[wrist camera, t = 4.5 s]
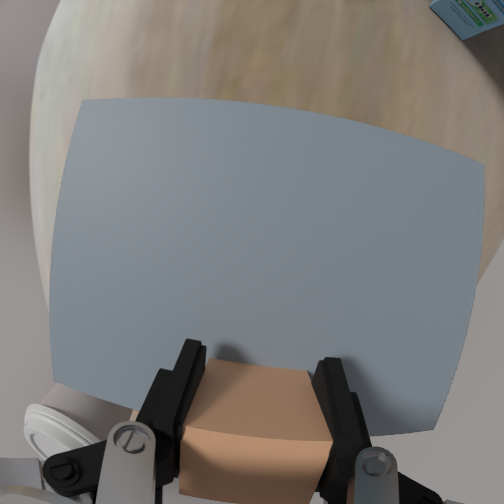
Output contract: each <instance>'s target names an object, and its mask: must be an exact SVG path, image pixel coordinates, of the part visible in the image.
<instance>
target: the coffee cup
mask: <svg viewBox="0 0 504 504" xmlns="http://www.w3.org/2000/svg"><path fill="white" fill-rule="evenodd" d="M132 411H133V409H131V408H128V407H124V406H121V405H118V404H115V403H112V402H109V401H106V400H103V399H100V398H97V397H94V396H91V395H88V394H86V393H83V392H80V391H78V390H75V389H73V388H70V387H68V386H65V385H63V384H60V383H57V384H56V385H55V387H54V388H53V389H52V390H51V391H50V392H49V393H48V394H47V395H46V396H45V397H44V398H43V399H42V400H41V401H40V402H39V403H38V404H32V405H29V406H28V408H27V410H26V413H25V419H24V420H25V427H24V435H25V438H26V440H27V441H28V443H29V444H30V445H31V446H32V448H33V449H34V450H35V451H36V452H37V453H38V454H39V455H40V456H41V457H42V458H44V459H45V460H46V459H48V458H49V457H50V456H52V455H54V454H58V453H62V452H66V451H69V450H73V449H77V448H81V447H84V446H88V445H91V444H94V443H98V442H101V441H104V440H107V439H108V435H109V433H110V431H111V429H112V428H113V427H114V426H115V425H117V424H119V423H121V422H125V421H129V420H130V417H131V414H132Z"/></svg>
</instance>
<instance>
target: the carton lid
mask: <svg viewBox="0 0 504 504" xmlns="http://www.w3.org/2000/svg"><path fill="white" fill-rule="evenodd" d="M483 223H484V164H482V163H480V162H477V161H475V160H473V159H470V158H468V157H465V156H463V155H461V154H458V153H455V152H453V151H450V150H448V149H445V148H442V147H439V146H437V145H434V144H431V143H428V142H425V141H422V140H419V139H416V138H413V137H410V136H407V135H404V134H400V133H397V132H394V131H390V130H387V129H383V128H380V127H376V126H372V125H368V124H364V123H360V122H356V121H352V120H348V119H344V118H339V117H335V116H330V115H325V114H320V113H315V112H310V111H304V110H298V109H292V108H286V107H279V106H272V105H265V104H257V103H248V102H239V101H228V100H216V99H199V98H172V97H140V98H113V99H98V100H86V101H82V104H81V107H80V110H79V114H78V117H77V120H76V124H75V127H74V131H73V134H72V138H71V142H70V146H69V150H68V154H67V158H66V163H65V167H64V172H63V177H62V182H61V187H60V193H59V198H58V205H57V211H56V218H55V226H54V234H53V244H52V255H51V270H50V300H49V314H50V342H51V357H52V369H53V378H54V381H56V382H58V383H60V384H63V385H65V386H68V387H70V388H73V389H75V390H78V391H80V392H83V393H86V394H88V395H91V396H94V397H97V398H100V399H103V400H106V401H109V402H112V403H115V404H118V405H121V406H124V407H128V408H131V409H135V410H138V411H140V409H141V407H142V405H143V403H144V400H145V398H146V396H147V394H148V392H149V390H150V387H151V385H152V383H153V381H154V379H155V377H156V374H157V372H158V370H159V369H160V368H163V369H167V370H172V371H173V369H174V366H175V364H176V361H177V359H178V356H179V354H180V352H181V349H182V347H183V344H184V342H185V340H186V338H188V339H194V340H199V341H201V342H202V345H205V346H206V347H207V348H206V364H205V372H204V374H203V377H202V379H201V382H200V384H199V386H198V389H197V391H196V394H195V396H194V399H193V401H192V404H191V406H190V409H189V411H188V414H187V416H186V419H185V421H184V424H183V429H182V440H181V445H180V475H179V476H180V477H179V494H183V495H188V496H192V497H198V498H203V499H209V500H215V501H222V502H230V503H238V504H309V503H310V500H311V498H312V496H313V494H314V492H315V489H316V487H317V485H318V482H319V480H320V477H321V475H322V473H323V470H324V468H325V465H326V462H327V460H328V457H329V455H328V454H329V451H330V449H331V446H332V443H333V439H332V437H331V434H330V431H329V429H328V426H327V424H326V421H325V418H324V416H323V413H322V411H321V408H320V405H319V403H318V400H317V397H316V395H315V392H314V390H313V387H312V384H311V382H312V379H313V376H314V373H315V370H316V367H317V364H318V362H319V360H324V358H325V357H336V358H340V359H341V361H342V365H343V368H344V372H345V375H346V379H347V383H348V386H349V390H350V392H356V393H357V395H358V398H359V401H360V405H361V408H362V412H363V415H364V419H365V422H366V426H367V430H368V433H369V436H382V435H394V434H403V433H413V432H420V431H428V430H433V429H434V427H435V425H436V423H437V420H438V418H439V416H440V413H441V411H442V408H443V406H444V403H445V401H446V398H447V395H448V393H449V390H450V387H451V384H452V381H453V379H454V375H455V372H456V369H457V366H458V363H459V360H460V356H461V353H462V349H463V346H464V341H465V338H466V334H467V330H468V326H469V321H470V317H471V313H472V308H473V303H474V298H475V291H476V286H477V280H478V273H479V266H480V258H481V248H482V237H483Z"/></svg>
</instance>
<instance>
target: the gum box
mask: <svg viewBox="0 0 504 504" xmlns="http://www.w3.org/2000/svg"><path fill="white" fill-rule="evenodd" d="M429 7H430V8H431V9H432V10H433V11H434V12H435V13H436V14H437V15H438V16H439V17H440V18H441V19H442V20H443V21H444V22H445V23H446V24H447V25H448V26H449V27H450V28H451V29H452V31H453V32H454V33H455V34H456V35H457V36H458V37H459V38H460V39H461V40H462V41H464V40H466V39H468V38H470V37H472V36H475V35H477V34H480V33H482V32H484V31H487V30H490V29H492V28H495V27H498V26H500V25H503V24H504V0H434V1H433V2H432V3H431V4H430V6H429Z"/></svg>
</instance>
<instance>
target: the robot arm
mask: <svg viewBox="0 0 504 504" xmlns="http://www.w3.org/2000/svg"><path fill="white" fill-rule="evenodd" d="M206 348H207V347H206V346H205V345H202V342H201V341H199V340H194V339H188V338H186V340H185V342H184V344H183V347H182V349H181V352H180V354H179V356H178V359H177V361H176V364H175V366H174V369H173V371H172V370H167V369H163V368H160V369H159V370H158V372H157V374H156V377H155V379H154V381H153V383H152V385H151V387H150V390H149V392H148V394H147V396H146V398H145V400H144V403H143V405H142V407H141V409H140V412H139V414H138V416H137V418H136V421H125V422H121V423H119V424H117V425H115V426H114V427H113V428H112V429H111V431H110V433H109V435H108V439H107V440H104V441H101V442H98V443H94V444H91V445H88V446H84V447H81V448H77V449H73V450H69V451H66V452H62V453H58V454H54V455H52V456H50V457H49V458H48V459H46V461H40V460H39V459H38V458H0V504H164V485H166V484H169V483H171V482H173V479H174V477H175V478H178V475H179V472H180V445H181V440H182V429H183V424H184V421H185V419H186V416H187V414H188V411H189V409H190V406H191V404H192V401H193V399H194V396H195V394H196V391H197V389H198V386H199V384H200V382H201V379H202V377H203V374H204V372H205V364H206ZM311 384H312V387H313V390H314V392H315V395H316V397H317V400H318V403H319V405H320V408H321V411H322V413H323V416H324V418H325V421H326V424H327V426H328V429H329V431H330V434H331V437H332V439H333V443H332V446H331V449H330V451H329V454H328V455H329V457H328V460H327V462H326V465H325V468H324V470H323V473H322V475H321V477H320V480H319V482H318V485H317V487H316V489H315V492H320V497H321V498H323V499H324V503H323V504H463V503H459V502H455V501H451V500H446V501H445V502H444V501H442V499H441V497H440V496H439V495H438V494H437V493H436V492H434V491H432V490H430V489H428V488H426V487H424V486H423V485H421V484H419V483H417V482H416V481H414V480H412V479H410V478H408V477H407V476H405V475H403V474H401V473H400V472H398V470H397V462H396V459H395V458H394V456H393V454H392V453H390V452H389V451H388V450H386V449H384V448H381V447H372V445H371V441H370V437H369V433H368V430H367V426H366V422H365V419H364V415H363V412H362V408H361V405H360V401H359V398H358V395H357V393H356V392H350V390H349V386H348V383H347V379H346V375H345V372H344V368H343V365H342V361H341V359H340V358H336V357H325V358H324V360H319V362H318V364H317V367H316V370H315V373H314V376H313V379H312V382H311Z"/></svg>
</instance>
